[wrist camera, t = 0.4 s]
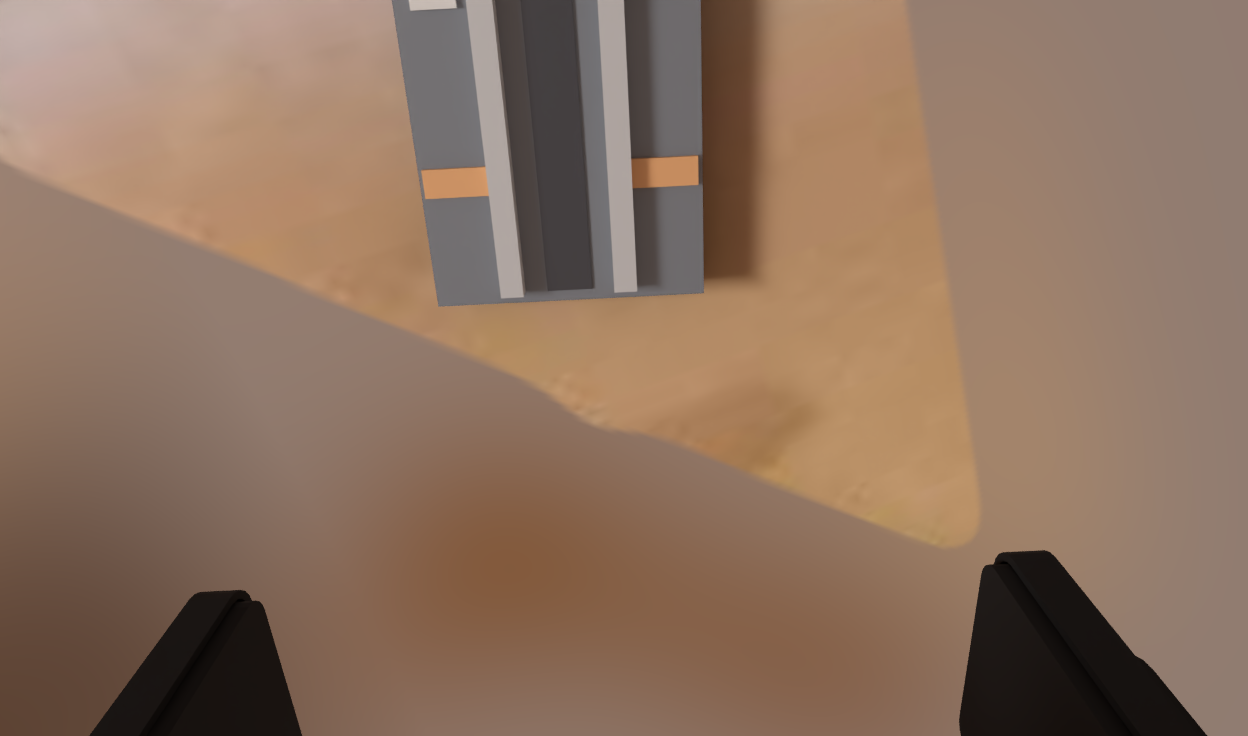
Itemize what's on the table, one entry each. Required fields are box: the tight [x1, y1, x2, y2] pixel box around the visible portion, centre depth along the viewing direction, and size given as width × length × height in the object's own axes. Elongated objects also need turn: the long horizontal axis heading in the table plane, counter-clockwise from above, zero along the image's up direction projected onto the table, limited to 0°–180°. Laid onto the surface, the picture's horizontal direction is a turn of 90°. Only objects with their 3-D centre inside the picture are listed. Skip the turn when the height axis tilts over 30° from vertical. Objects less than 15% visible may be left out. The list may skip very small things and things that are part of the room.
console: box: [392, 0, 704, 306], centre depth 32 cm, size 23×12×3 cm, turn 3°
